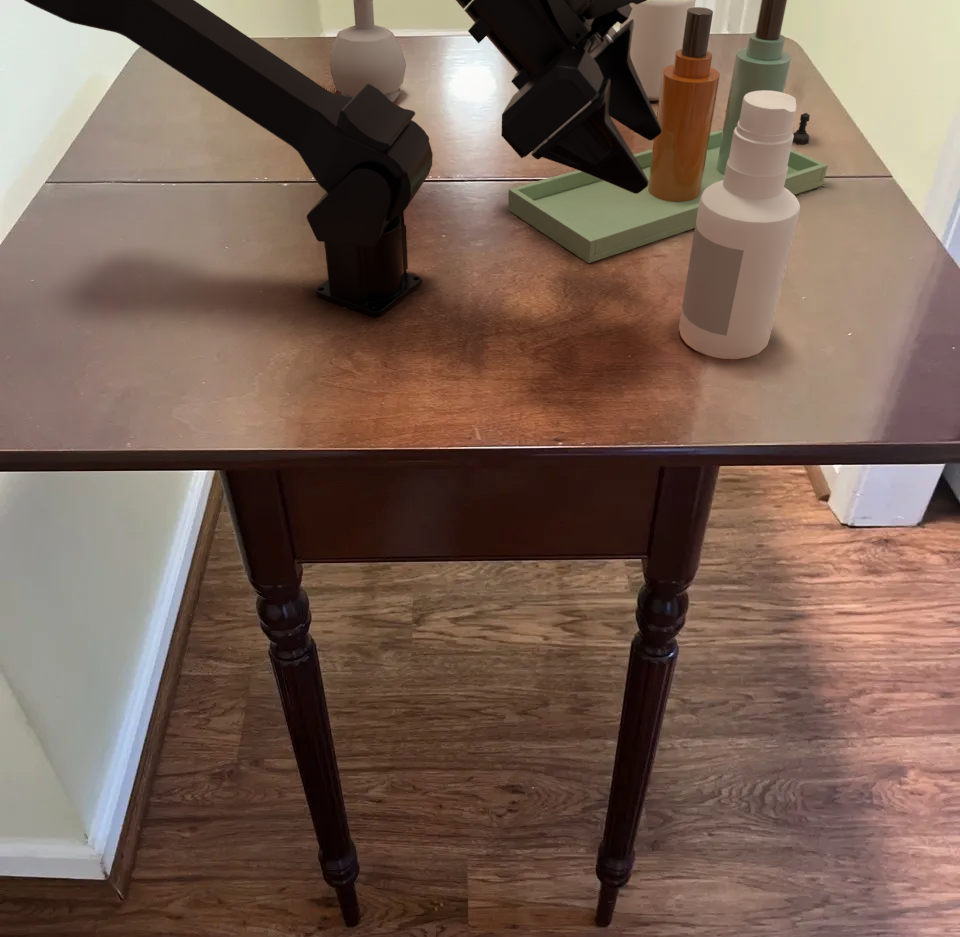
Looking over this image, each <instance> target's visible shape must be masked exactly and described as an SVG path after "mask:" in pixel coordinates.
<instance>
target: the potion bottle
mask: <svg viewBox="0 0 960 937" xmlns="http://www.w3.org/2000/svg"><path fill="white" fill-rule="evenodd" d="M353 13H354V25H352V26H349V27H346V28H344V29H342V30H339V31H338V32H337V34H336V37H335V38H334V41H333V43H332V45H331V51H330V58H329V71H330V75H331V78H332V81H333V85H334V87H335V90H336V91H338V92H340V95H343V96H347V97H352V98H354V97H355V96H356V94H357V93H358V92H359V91H360V90H361V89H362V88H363V87H364V86H365V85H366V84H370V85H372V86H373V87H375V88H377V89H378V90H379V91H381V92H382V93H383V94H384V95H385V96H386V97H387V98H388V99H389V100H390V101H392V102H393V103H394V102H395V100H396V99H397V98H398V96H399V95H400V92H399V91H398V90H399V89H400V88H401V86H402V85H403V83H404V80H405V74H406V69H407V62H406V58H405V54H404V51H403V47H402V45H401V43H400V42H399V40H398V39H397V37H396V36H395V34H394V32H393V31H391V30H390V29H389V28H387V27H385V26H380V25H376V24H375V15H374V14H375V13H374V0H353Z"/></svg>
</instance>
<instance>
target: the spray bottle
mask: <svg viewBox="0 0 960 937" xmlns="http://www.w3.org/2000/svg"><path fill="white" fill-rule="evenodd" d="M797 108H798V107H797V100H796V97H795V96H793V95H791V94H788V93H786V92H784V93H782V92H777V91H768V90H761V91H753V92H749V93H747V94H746V95H745V96H744V98H743V102H742V108H741V113H740V119H739V121H738V123H737V127H735V129H734V132H733V138H732V143H731V149H730V154H729V159H728V160H727V164H726V170H725V175H724V180H722V181H719V182H716V183H714V184H712V185H711V186H709V187H707V188H706V189H705V190H704V191H703V193H702V195H701V197H700V200H699V206H698V212H697V218H696V225H695V228H694V230H693V238H692V244H691V250H690V257H689V263H688V268H687V274H686V280H685V286H684V292H683V299H682V304H681V311H680V318H679V323H678V328H679V335H680V337H681V339H682V341H684V343H685V344H686V345H687V346H688V347H689V348H691V349H693V350H694V351H695V352H698V353H700V354H703V355H706V356H708V357H711V358H712V357H713V358H717V359H722V360H725V359H726V360H740V359H746V358H747V359H748V358H750V357H753V356H756V355H758V354H760V353H761V352H762V351H764V349H765V348H766V347H767V346H768V344H769V340H770V338H771V334H772V331H773V330H772V329H773V325H774V321H775V318H776V313H777V308H778V305H779V300H780V296H781V292H782V288H783V284H784V279H785V275H786V271H787V266H788V262H789V258H790V254H791V249H792V246H793V241H794V237H795V232H796V229H797V225H798V220H799V216H800V211H801V205H800V204H801V203H800V202H799V200H798V198H797V197H796V195H793V194H792V193H791V192H790V191H789V190H787V189H786V188H784V184H785V180H786V175H787V171H788V160H789V156H790V151H791V149H792V146H793V143H792V142H793V138H794V135H793V134H794V133H793V132H794V126H793V125H794V120H795V116H796V112H797Z"/></svg>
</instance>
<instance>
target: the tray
mask: <svg viewBox="0 0 960 937" xmlns="http://www.w3.org/2000/svg"><path fill="white" fill-rule="evenodd" d="M722 132H723V128H722V129H717V130H715V131H711V132H710V138H709V144H708V150H707V156H706V162H705V168H704V174H703V180H702V186H701V192H700V195H699V196H698V197H697V198H695V199H693V200H690V201H684V202H673V201H666V200H662V199H659V198H657V197H655V196H653V195H651V194H650V193H649V191H648V186H647V187H646V188H645V189H643V190H642V191H641V192H640V193H638V194H635V193H632V192H630V191H627V190H625V189H623V188H620V187H618V186H615V185H613V184H611V183H608V182H606V181H604V180H601V179H599V178H597V177H594V176H592V175H589V174H587V173H584V172H582V171H579V170H577V169H574V170H572V171H569V172H565V173H561V174H557V175H555V176H550V177H547V178H544V179H540V180H536V181H533V182H529V183H525V184H521V185H518V186H515V187H511V188H508V199H507V200H508V201H507V202H508V203H507V204H508V205H507V210H508V211H509V212H510V213H512V214H514V215H515V216H516V217H518V218H519V219H521V220H522V221H524V222H526V223H527V224H528V225H530V226H532V227H533V228H535V229H536V230H538V231H539V232H541V233H542V234H543V235H545V236H547V237H548V238H549V239H551V240H553V241H554V242H556V244H558V245H559V246H561V247H563V248H564V249H566V250H568V251H569V252H570V253H572V254H574V255H575V256H576V257H578V258H580V259H581V260H583V261H584V262H586V263H587V264H590V263H595V262H597V261H601V260H604V259H605V258H609V257H612V256H615V255H619V254H621V253H624V252H628V251H630V250H633V249H636V248H640V247H642V246H645V245H648V244H651V243H653V242H657V241H660V240H663V239H666V238H669V237H672V236H675V235H678V234H681V233H684V232H688V231H691V230H693V229H695V225H696V218H697V212H698V206H699V200H700V197H701V195H702V193H703V191H704V190H705V189H706V188H707V187H709V186H711V185H712V184H714V183H716V182H719V181H722V180H724V175H723V174H721V173H720V172H719V171H718V170H717V161H718V155H719V149H720V144H721V138H722ZM652 151H653V148H650V149H648V150H644V151H640V152H636V153H633V155H634V156H635V158H636V160H637V161H638V163H639V165H640V167H641V168H642V170H643V172H644V174H645V175H646V177H647V179H648V181H649V174H650V166H651V158H652ZM828 166H829V165H828V164H826V163H824V162H822V161H819V160H817V159H815V158H813V157H811V156H808V155H806V154H804V153H801V152H799V151H797V150H795V149H792V148H791V151H790V156H789V160H788V171H787V175H786V180H785V184H784V188H786V189H787V190H789V191H790V192H791V193H792V194H793V195H794V196H796V195H798V194H801V193H804V192H807V191H810V190H813V189H817V188H819V187H822V186H823V185H824V182H825V178H826V174H827V170H828Z"/></svg>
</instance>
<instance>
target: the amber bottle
mask: <svg viewBox="0 0 960 937" xmlns="http://www.w3.org/2000/svg"><path fill="white" fill-rule="evenodd" d="M713 15H714V10H713V9H710V8H707V7H702V6H701V7H700V6H695V7H694V8H689V9H688V10H687V14H686V21H685V28H684V35H683V43H682V49H679V50H677V51H676V52H675V59H674V64H673V65H670V66H667V67H665V68H664V69H663V71H662V79H661V87H660V95H659V100H658V103H657V104H658V105H657V112H656V117H657V119H658V122H659V124H660V126H661V129H662V130H661V133H660V135H658V136H657V137H656V138H654V139H653V144H652V149H653V151H652V158H651V166H650V174H649V183H648V191H649V193H650V194H651V195H653V196H655V197H657V198H659V199H662V200H666V201H673V202H684V201H690V200H693V199H695V198H697V197H698V196H699V195H700V192H701V186H702V180H703V174H704V168H705V162H706V156H707V150H708V144H709V138H710V133H711V132H712V131H711V130H712V124H713V120H714V113H715V107H716V102H717V101H716V100H717V94H718V89H719V84H720V75H721V73H720V72H719V71H718V70H717V69H716V68H714V67H712V62H713V60H712V59H713V53H712V52H711V51H709V50H708V49H709V41H710V37H711V36H710V35H711V29H712V22H713Z"/></svg>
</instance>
